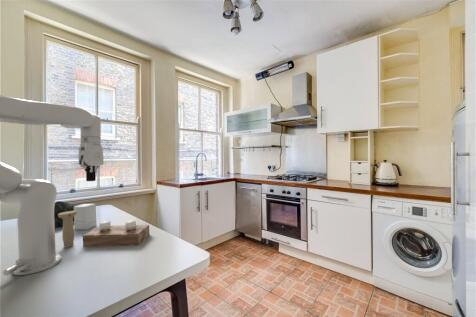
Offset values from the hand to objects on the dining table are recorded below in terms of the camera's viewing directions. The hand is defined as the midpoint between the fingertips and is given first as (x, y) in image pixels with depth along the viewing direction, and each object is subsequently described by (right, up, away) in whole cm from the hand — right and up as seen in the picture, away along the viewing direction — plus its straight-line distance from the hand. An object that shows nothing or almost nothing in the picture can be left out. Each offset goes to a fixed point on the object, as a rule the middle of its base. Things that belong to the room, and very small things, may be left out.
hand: (90, 180), depth 93 cm
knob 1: (+5, -27, +2) cm, 28 cm away
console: (+11, -28, +2) cm, 31 cm away
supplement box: (-18, -29, +21) cm, 40 cm away
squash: (-36, -29, +26) cm, 53 cm away
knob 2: (+17, -27, +2) cm, 32 cm away
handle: (-8, -29, -3) cm, 30 cm away
